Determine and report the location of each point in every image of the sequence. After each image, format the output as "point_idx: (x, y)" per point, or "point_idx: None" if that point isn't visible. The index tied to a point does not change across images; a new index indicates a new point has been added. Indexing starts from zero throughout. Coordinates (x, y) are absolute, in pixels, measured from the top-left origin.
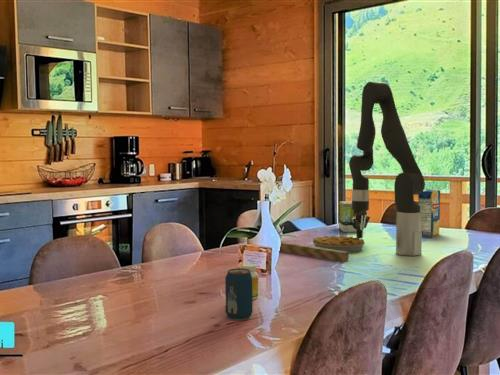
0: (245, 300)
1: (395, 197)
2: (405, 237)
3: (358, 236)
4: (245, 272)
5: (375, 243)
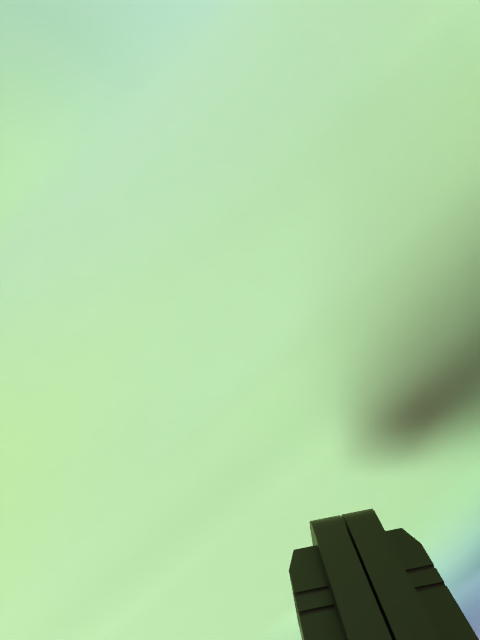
0: None
1: None
2: None
3: (418, 553)
4: None
5: (53, 387)
